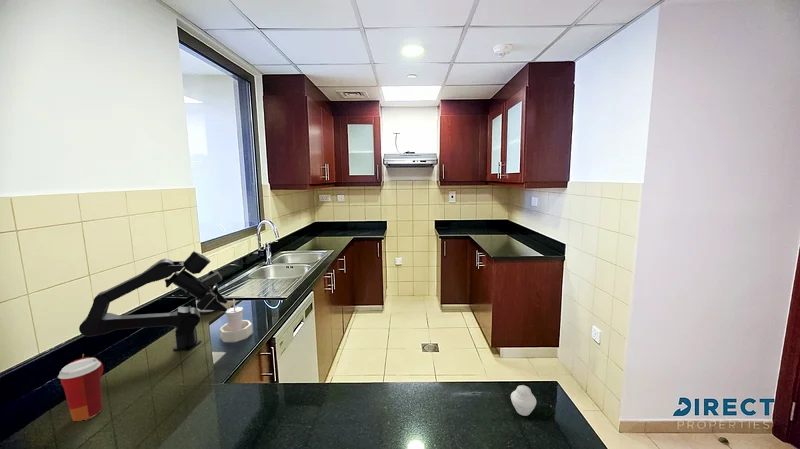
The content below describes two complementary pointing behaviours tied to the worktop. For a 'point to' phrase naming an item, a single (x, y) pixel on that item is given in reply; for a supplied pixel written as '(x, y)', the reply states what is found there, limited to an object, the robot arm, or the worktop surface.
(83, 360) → the paper cup
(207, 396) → the worktop surface
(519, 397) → the white rounded blob
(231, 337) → the bowl
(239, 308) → the smoothie
